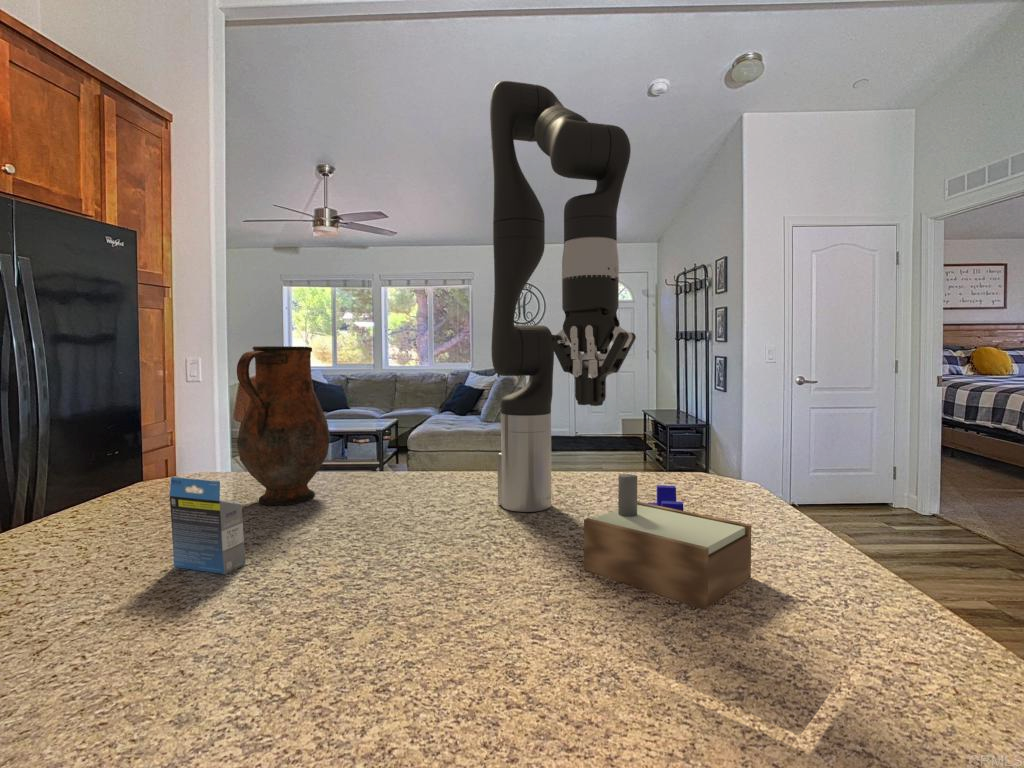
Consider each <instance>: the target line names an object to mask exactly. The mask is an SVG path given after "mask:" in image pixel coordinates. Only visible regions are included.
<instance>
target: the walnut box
mask: <svg viewBox="0 0 1024 768" xmlns="http://www.w3.org/2000/svg"><path fill="white" fill-rule="evenodd" d="M637 505H641V506H646V507H651V508H656V509H661V510H665V511H670V512H675V513H680V514H685V515H689V516H694V517H699V518H704V519H709V520H713V521H718V522H723V523H728V524H733V525H737V526H742V527H745V535H743V536H742V537H740V538H738V539H736V540H734V541H733V542H731V543H729V544H727V545H725V546H724V547H722V548H720V549H718V550H716V551H715V552H713V553H711V554H709V548H708V547H704V546H699V545H695V544H691V543H687V542H683V541H679V540H675V539H671V538H667V537H663V536H659V535H655V534H651V533H647V532H642V531H638V530H634V529H630V528H626V527H622V526H618V525H614V524H610V523H606V522H602V521H598V520H594V519H592V518H589V517H588V518H583V570H584V571H586V572H588V573H593V574H595V575H597V576H601V577H604V578H608V579H611V580H614V581H616V582H620V583H622V584H626V585H628V586H632V587H635V588H638V589H641V590H644V591H646V592H649V593H653V594H656V595H659V596H663V597H666V598H668V599H671V600H675V601H677V602H681V603H683V604H686V605H690V606H691V607H692V606H693V607H696V608H699V609H701V610H703V611H704V610H706V609H707V608H709V607H711V606H712V605H713V604H715V603H716V602H717V601H719V600H720V599H722V598H723V597H725V596H726V595H727V594H729V593H731V592H732V591H733V590H735V589H736V588H738V587H740V585H742V584H744V583H745V582H746V581H748V580H749V579H751V578H752V577H751V576H752V524H749V523H745V522H739V521H734V520H730V519H724V518H721V517H716V516H710V515H704V514H700V513H696V512H691V511H686V510H683V511H681V510H676V509H672V508H667V507H662V506H657V505H652V504H648V502H647V503H646V502H641V501H637Z"/></svg>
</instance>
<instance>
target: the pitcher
mask: <svg viewBox="0 0 1024 768" xmlns="http://www.w3.org/2000/svg"><path fill="white" fill-rule="evenodd" d="M312 352H313V348H312V347H311V346H287V345H286V346H283V345H282V346H281V345H280V346H273V345H271V346H270V345H269V346H263V345H262V346H258V345H257V346H255V345H254V346H252V351H246V352H244V353H242V355H240V358H239V359H238V362H237V364H236V376H237V381H238V382H239V385H240V386H241V387H242V389H243V390H244V391H245V393H246V394H247V395H248V397H249V398H250V401H249V404H248V407H247V409H246V412H245V414H244V415H243V418H242V421H241V424H240V425H239V431H238V436H237V440H236V445H237V451H238V457H239V460H240V462H241V464H242V465H243V466H244V468H245V469H246V471H247V472H248V473H249V474H250V476H251V477H253V478H254V479H255V481H257V482H258V483H259V484H260V485H262V487H264V488H265V492H264V494H262V495H261V496H260V497H259V498H258V503H260V504H261V505H263V504H265V505H264V506H268V505H280V506H288V505H287V504H290V505H294V504H293V503H296V504H299V502H300V503H303V501H304V502H306V500H307V501H309V500H311V499H313V498H314V497H315V496H316V493H315V491H314V490H313V489H310V488H309V487H308V484H309V482H310V481H311V480H312V479H313V477H314V476H315V475H316V474H317V473H318V471H319V470H320V469H321V467H322V465H323V464H324V462H325V460H326V458H327V457H328V453H329V448H330V441H331V434H330V428H329V424H328V420H327V418H326V416H325V413H324V411H323V409H322V406H321V404H320V403H321V402H320V401H319V399H318V396H317V394H316V392H315V391H314V384H313V376H312V363H311V358H312V357H311V356H312V355H311V354H312ZM253 359H254V361H255V362H254V363H255V364H254V365H255V377H254V385H253V383H252V380H251V377H250V366H251V365H250V364H251V362H252V360H253Z"/></svg>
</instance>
